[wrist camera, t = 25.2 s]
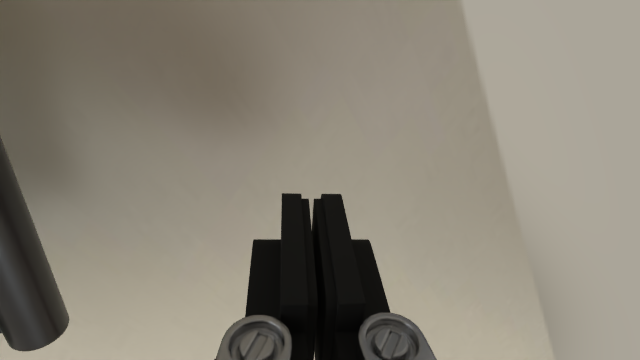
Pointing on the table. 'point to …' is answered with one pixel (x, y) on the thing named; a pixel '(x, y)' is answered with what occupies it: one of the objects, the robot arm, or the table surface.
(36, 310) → the drawer
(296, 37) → the table surface
